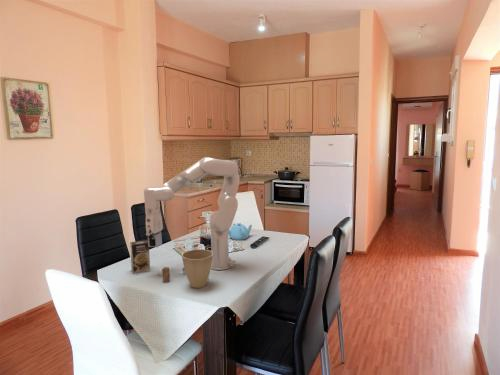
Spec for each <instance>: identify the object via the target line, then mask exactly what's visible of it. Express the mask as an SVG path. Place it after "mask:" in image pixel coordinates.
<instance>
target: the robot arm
mask: <svg viewBox="0 0 500 375" xmlns="http://www.w3.org/2000/svg"><path fill="white" fill-rule="evenodd" d="M207 175H212V176H218V177H219V176H220V177H223V183H222V184H223V185H222V187H221V190H220V192H219V195H218V198H217V205H218V209H217V210H215V211H213V212H212V213H211V214H210V216H209V228H210V245H211V246H210V247H211V250H210V251H211V252H212V253H213V256H212V264H211V269H210V270H214V271H223V270H224V271H225V270H228V269H230V268H231V267H232V266H236V265H237V261H236V260H235V259H234V260H232V259H231V257H230V256H229V254H230V252H229V235H228V229H229V230H230V228H232V226H233V222H234V219H235V216H236V214H237V210H238V206H239V202H238V199H237V197H236V195H237V194H238V189H239V186H240V180H241V178H240V174H239V165H238V163H237V162H236V161H233V160H230V159H219V158H214V157H208V156H205V157H203V158H201V159H199V160H198V161H197V162H195V163H193V164H192V165H191V166H189V167H187V168H185V170H183V171H181V172H180V173H178V174H176V175H175V176H174V177H172V178H171V179H169V180H168V181H166V182H165V183H164V184H162V185H161V186H160V187H157V186H156V187H155V186H149V187H145V188H144V189H143V196H144V197H143V200H144V208H145V209H144V211H145V231H146V233H145V236H146V237H147V240H148V239H149V245H150V246H155V239H154V234H155V233H157V232H161V233H162V230H163V229H164V225H163V216H162V213H161V204H160V203H161V202H169V201H172V200H173V198H174V197H175V194H176V193H177V192H179V191H180V190H181V189H184V188H186V187H189V186H192V185H194V184H195V183H198V182H199V180H202V178H204V177H206V176H207ZM151 234H152V235H151Z"/></svg>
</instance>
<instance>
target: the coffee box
mask: <svg viewBox="0 0 500 375" xmlns="http://www.w3.org/2000/svg"><path fill="white" fill-rule="evenodd" d="M129 246H130V264H131V272H132V274H140V273H144V272H149V271H151V260H150V259H151V258H150V247H148V239H146V240H137V241H130V242H129Z"/></svg>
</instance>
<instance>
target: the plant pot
mask: <svg viewBox="0 0 500 375" xmlns="http://www.w3.org/2000/svg"><path fill="white" fill-rule="evenodd" d="M212 256H213V253H212V251H211V250H209V249H203V248H202V249H201V248H200V249H199V248H197V249H191V250H187V251H184V252H182V253H181V258H182V264H183V267H184V268H185V272H186V275H185V276H186V278H187V280H188V283H189V285H190V287H192V288H194V289H202V288H204V287H206V286H207V283H208V280H209V276H210V272H211V270H212V269H211V264H212Z"/></svg>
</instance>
